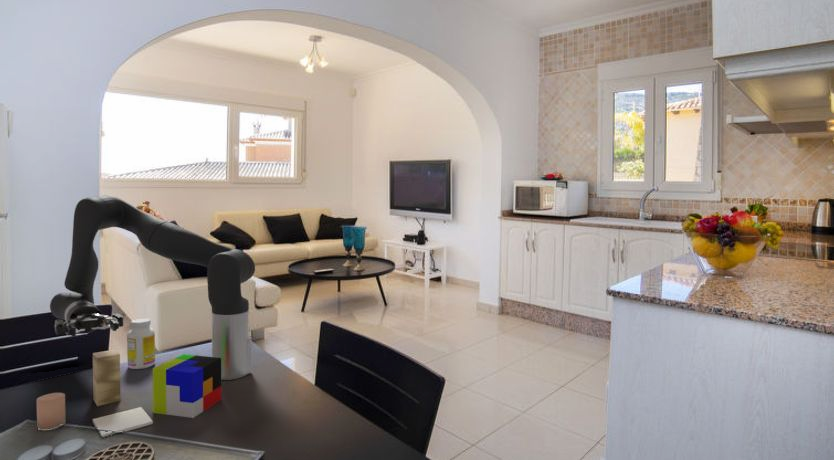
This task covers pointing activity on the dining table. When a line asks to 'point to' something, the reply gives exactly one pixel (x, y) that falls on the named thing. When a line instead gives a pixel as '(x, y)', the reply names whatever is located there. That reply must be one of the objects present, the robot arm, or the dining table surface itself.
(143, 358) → the supplement bottle
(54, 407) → the peach short upright block
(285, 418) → the dining table surface
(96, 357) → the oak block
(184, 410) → the puzzle toy
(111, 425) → the coaster
